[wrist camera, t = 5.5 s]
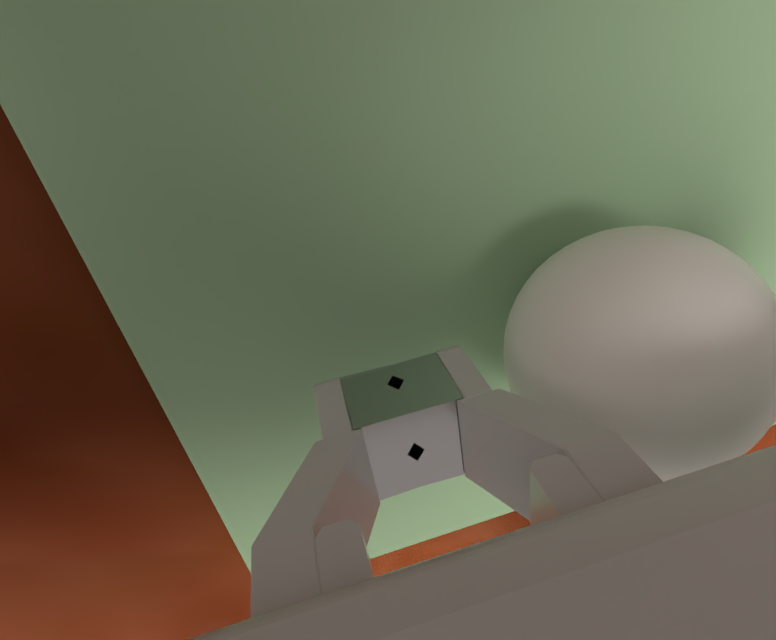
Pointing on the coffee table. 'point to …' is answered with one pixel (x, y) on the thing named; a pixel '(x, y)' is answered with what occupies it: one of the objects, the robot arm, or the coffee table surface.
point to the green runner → (370, 188)
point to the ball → (650, 344)
